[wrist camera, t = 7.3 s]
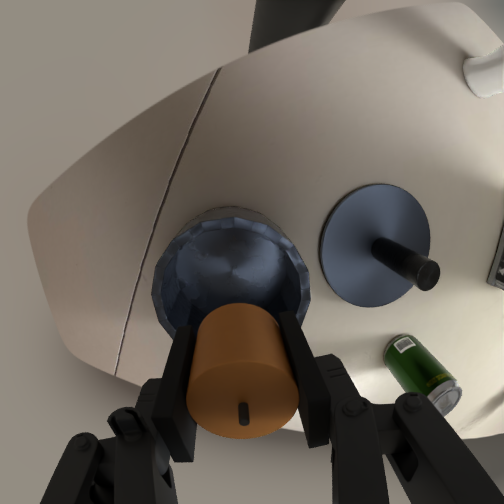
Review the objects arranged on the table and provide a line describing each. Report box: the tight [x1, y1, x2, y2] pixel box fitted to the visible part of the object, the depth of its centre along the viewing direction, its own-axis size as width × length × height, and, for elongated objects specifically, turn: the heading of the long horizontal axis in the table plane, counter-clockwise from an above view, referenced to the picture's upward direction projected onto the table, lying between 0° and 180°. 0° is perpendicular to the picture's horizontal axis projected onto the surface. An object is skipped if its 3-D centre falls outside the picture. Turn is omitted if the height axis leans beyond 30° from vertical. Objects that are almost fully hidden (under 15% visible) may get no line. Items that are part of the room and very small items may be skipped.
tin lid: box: [320, 184, 440, 307], centre depth 26 cm, size 14×14×10 cm
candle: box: [186, 303, 299, 439], centre depth 12 cm, size 4×4×6 cm
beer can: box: [384, 335, 462, 417], centre depth 29 cm, size 5×5×12 cm
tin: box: [151, 206, 311, 340], centre depth 27 cm, size 13×13×8 cm
